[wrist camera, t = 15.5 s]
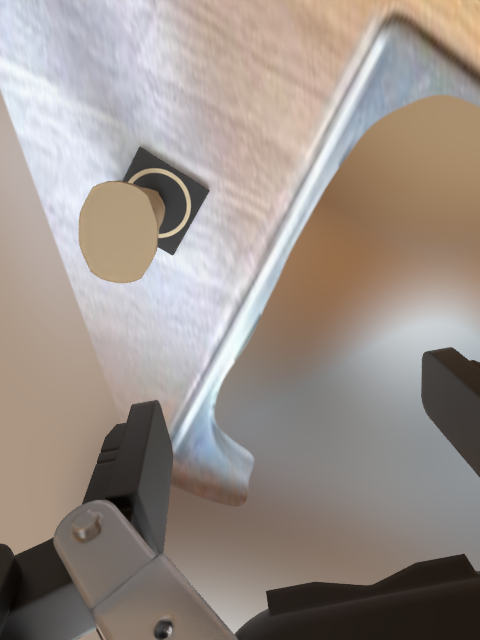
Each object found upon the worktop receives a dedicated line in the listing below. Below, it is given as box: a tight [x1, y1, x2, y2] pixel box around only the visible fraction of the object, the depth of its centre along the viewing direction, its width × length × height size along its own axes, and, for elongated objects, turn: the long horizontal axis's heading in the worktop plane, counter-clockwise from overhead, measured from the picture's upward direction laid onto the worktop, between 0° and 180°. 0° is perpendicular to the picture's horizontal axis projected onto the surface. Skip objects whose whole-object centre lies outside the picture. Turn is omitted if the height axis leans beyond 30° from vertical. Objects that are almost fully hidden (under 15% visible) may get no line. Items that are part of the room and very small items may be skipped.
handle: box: [79, 181, 165, 283], centre depth 33 cm, size 5×6×15 cm
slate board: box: [123, 147, 209, 255], centre depth 40 cm, size 8×8×1 cm
